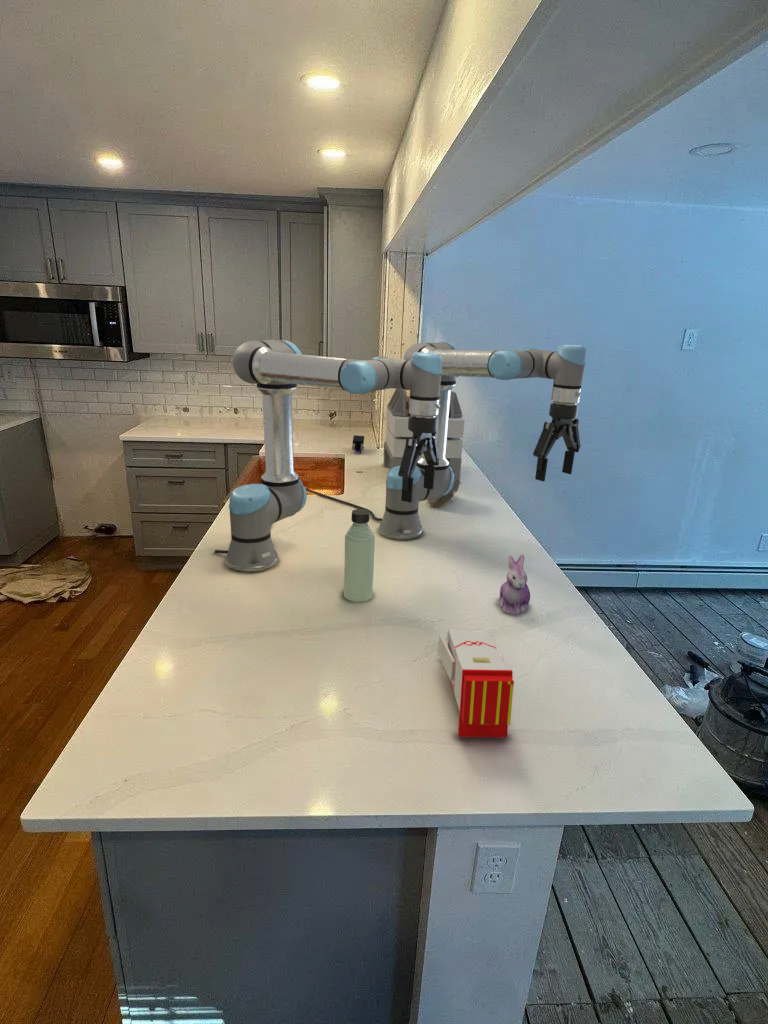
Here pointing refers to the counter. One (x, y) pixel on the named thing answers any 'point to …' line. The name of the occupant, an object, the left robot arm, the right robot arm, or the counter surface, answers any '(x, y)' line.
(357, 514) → the cap
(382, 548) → the counter surface
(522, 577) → the figurine
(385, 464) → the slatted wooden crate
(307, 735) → the counter surface
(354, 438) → the figurine character
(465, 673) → the toy
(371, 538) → the bottle
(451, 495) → the fossil
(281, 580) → the counter surface
